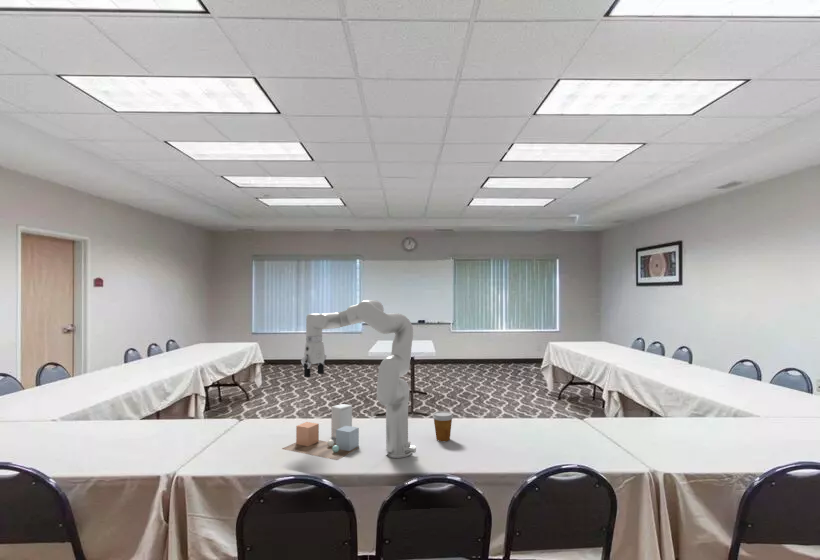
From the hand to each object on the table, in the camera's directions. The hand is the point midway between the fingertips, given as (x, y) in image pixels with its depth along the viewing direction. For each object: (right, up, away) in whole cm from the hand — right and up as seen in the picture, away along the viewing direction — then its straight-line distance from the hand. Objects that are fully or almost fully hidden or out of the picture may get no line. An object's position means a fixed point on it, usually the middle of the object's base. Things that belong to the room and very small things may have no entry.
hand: (314, 375), depth 199 cm
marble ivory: (+11, -26, -14) cm, 31 cm away
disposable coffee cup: (+61, -30, -2) cm, 68 cm away
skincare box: (+13, -31, 0) cm, 33 cm away
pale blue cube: (+18, -28, -16) cm, 37 cm away
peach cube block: (-1, -28, -10) cm, 30 cm away
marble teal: (+16, -26, -22) cm, 37 cm away
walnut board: (+7, -29, -17) cm, 35 cm away
